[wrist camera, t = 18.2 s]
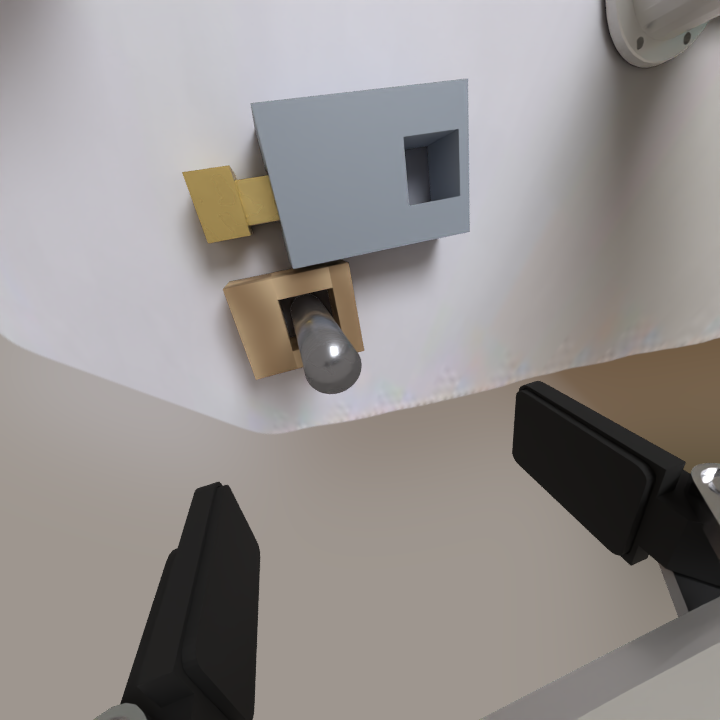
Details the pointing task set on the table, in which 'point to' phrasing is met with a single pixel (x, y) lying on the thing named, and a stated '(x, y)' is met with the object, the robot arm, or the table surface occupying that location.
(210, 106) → the table surface
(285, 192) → the socket block
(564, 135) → the table surface
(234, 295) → the tan slotted block
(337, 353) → the metal cylinder rod
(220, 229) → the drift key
